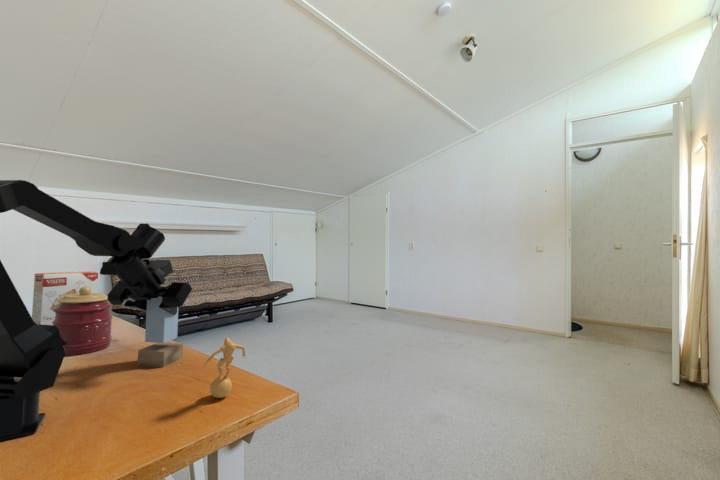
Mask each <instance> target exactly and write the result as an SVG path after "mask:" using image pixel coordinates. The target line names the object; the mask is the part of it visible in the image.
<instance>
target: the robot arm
mask: <svg viewBox="0 0 720 480" xmlns="http://www.w3.org/2000/svg"><path fill="white" fill-rule="evenodd" d="M12 210H13V211H15V212H17V213H19V214H22V215H24V216H26V217H28V218H29V219H32V220H34V221H36V222H38V223H40V224H42V225H44V226H46V227H49V228H51V229H53V230H55V231H57V232H59V233H61V234H63V235H65V236H67V237H69V238H71V239H72V240H73V241H75V244H76V246H77V247H78V248H79V249H82V250H83V251H84V252H86V253H87V254H88V255H90V256H93V257H110V258H109V259H108V260H107V261H103V262H102V266H101V268H100V270H99V274H100V275H102V276H103V275H104V276H105V275H106V276H116V277H117V278H118V279H119V280H118V282H116V284H115V285H114V286H113V288H111V290H110V291H109V292H108V294H107V296H108V298H107V300H108V302H109V303H111V304H112V305H113V306H123V304H124V307H128V308H133V309H135V310H139V311H143V312H146V311H147V300H151V299H157V298H158V297H159V296H161V298H162V303H161V304H160V306H159V308H161V309H163V310H165V311H167V312H169V313H171V314H173V315H176V313H177V307H178V308H180V307H182V306H183V305H184V303H185V302H186V300H187V299H188V298H189V295H190V294H191V293H192V290H193V287H192V285H191V284H190V283H189V281H173V282H171V284H168V285H167V286H161V285H164V284H165V282H166V279H165V278H166V277H168V276H169V275H170V274H173V273H174V269H173V265H172V261H171V260H169V259H156V260H154V259H153V260H150V258H152V257H153V255H154V254H155V253H156V252H157V250H158V249H159V248H160V247H161V246H162V245H163V243H164V242H165V240H166V236H165V234H164V233H163V232H161V231H160V230H158V228H157V229H156V228H155V227H152V226H150V224H149V223H139V224H138V225H137V227H136V228H135V229H134V231H133V232H132V233H130V232H129V231H128V230H126V229H123V228H120V227H119V226H118V227H117V226H116V225H112V224H107V223H103V222H99V221H96V220H94V219H92V218H90V217H88V216H87V215H85V214H83V213H81V212H79V210H76V209H74V208H72V207H71V206H69V205H67V204H66V203H64V202H62V201H60V200H58V199H57V198H55V197H54V196H52V195H50V194H48V193H46V192H44V191H42V190H41V189H39V188H38V186H37V185H35V184H34V183H32V182H30V181H28V180H23V179H5V180H4V179H1V180H0V214H2V213H6V212H9V211H12ZM1 260H2V259H0V440H1V441H5V440H10V439H14V438H18V437H23V436H24V437H25V436H28V435H33V434H35V433H36V432H38V430H39V428H40V426H41V425H42V423H43V421H44V419H45V417H46V412H41V413H39V412H40V397H41V396H40V394H41V392H42V391H44V390H48V389H50V388H52V387H53V386H54V385H55V382H56V379H57V377H58V374H59V372H60V370H61V367H62V363H63V361H64V358H66V356H67V355H66V352H65V348H64V346H63V345H67V343H66V342H65V341H63V339H62V338H61V336H60V332H59V329H58V328H57V327H56V326H55V325H39V324H36V323H35V322H34V321H33V319H32V314H30V311H29V310H28V308H27V306H26V304H25V303H24V301H23V299H22V297H21V296H20V293H19V291H18V290H17V288H16V286H15V285H14V282H13V281H12V279H11V277H10V275H9V273H8V271H7V270H6V268H5V265H4V263H3V262H2V261H1ZM15 378H20V379H15Z"/></svg>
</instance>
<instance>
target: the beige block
mask: <svg viewBox="0 0 720 480" xmlns="http://www.w3.org/2000/svg"><path fill="white" fill-rule="evenodd" d="M183 354H184V343H179V342H177V343H176V342H165V343H153V344H152V345H148V346H146V347H143V348H140V349H138V350H137V366H139V367H151V368H152V367H153V368H165V367H167V366H169V365H172V364H173V363H176V362H178V361H180V360H181V359H183V358H184V356H183Z"/></svg>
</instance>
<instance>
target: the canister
mask: <svg viewBox="0 0 720 480" xmlns="http://www.w3.org/2000/svg"><path fill="white" fill-rule="evenodd" d="M107 298H108V295H106V294H104V293H102V292H97V293H91V289H90V288H89V287H82V288H80V290H79V294H71V295H66V296H64V297H63V298H61V299H59V300H58V302H59V303H60V304H59V306H58V307H56V308H54V309H53V312H55V320H54V321H53V322H52V324H53V325H55V326H56V327H57V328H58V329H59V332H60V336H61V338H62V339H63V341H65V342H66V343H67V345H63V346H64V348H65V352H66V356H75V355H82V354H83V355H84V354H89V353H94V352H98V351H101V350H105V349H106V348H108V347H110V344H111V342H112V320H113V315H111V314H112V313H111V309H112V308H113V306H114V305H112V304H111V303H110V302H109V301H108V300H107Z"/></svg>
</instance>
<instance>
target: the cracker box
mask: <svg viewBox="0 0 720 480" xmlns="http://www.w3.org/2000/svg"><path fill="white" fill-rule="evenodd" d="M33 279H34V280H33V282H34V283H33V292H32V293H33V294H32V308H31V310H32V311H31V317H32V319H33V321H34V322H35V323H36V324H39V325H53V324H52V322H53V321H54V320H55V312H53V309H54V308H56V307H58V306H59V304H60V303H59V302H58V300H59V299H61V298H63V297H64V296H66V295H71V294H79V290H80V288H82V287H89V288H90V289H91V293H98V281H99V280H98V279H99V272H97V271H90V270H89V271H60V272H42V273H41V272H40V273H39V272H38V273H34V278H33Z"/></svg>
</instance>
